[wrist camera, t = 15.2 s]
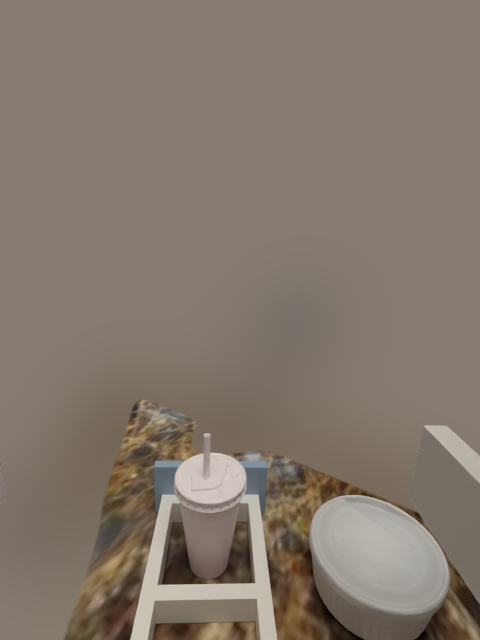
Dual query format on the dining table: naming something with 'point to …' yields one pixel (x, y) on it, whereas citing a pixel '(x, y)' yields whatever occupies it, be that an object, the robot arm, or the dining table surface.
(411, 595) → the ramekin
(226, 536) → the smoothie
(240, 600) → the drawer frame
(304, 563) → the dining table surface
